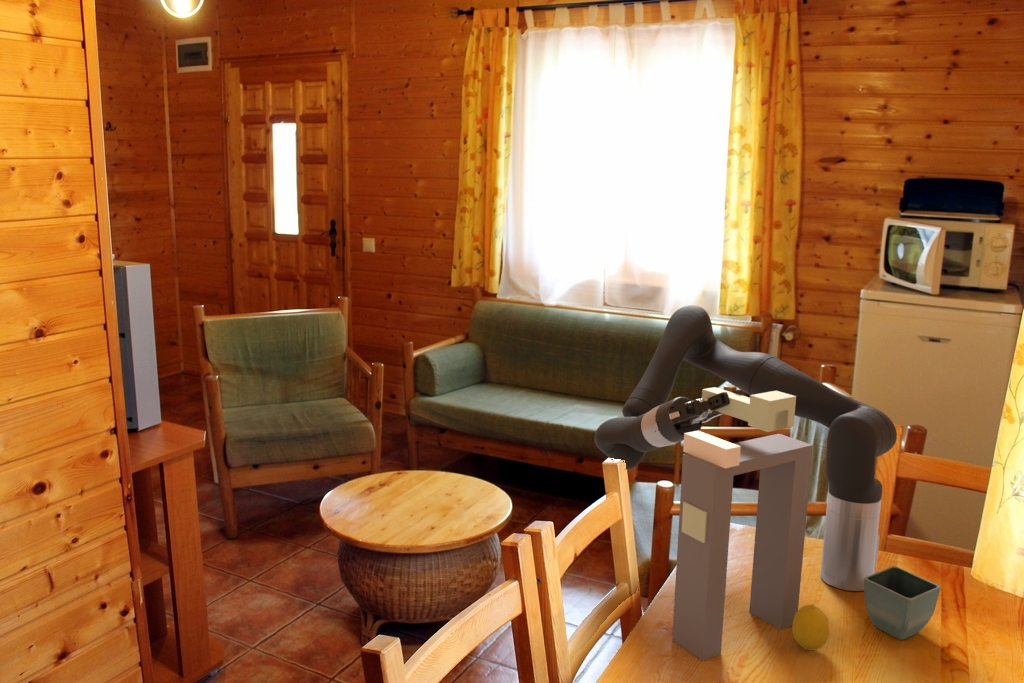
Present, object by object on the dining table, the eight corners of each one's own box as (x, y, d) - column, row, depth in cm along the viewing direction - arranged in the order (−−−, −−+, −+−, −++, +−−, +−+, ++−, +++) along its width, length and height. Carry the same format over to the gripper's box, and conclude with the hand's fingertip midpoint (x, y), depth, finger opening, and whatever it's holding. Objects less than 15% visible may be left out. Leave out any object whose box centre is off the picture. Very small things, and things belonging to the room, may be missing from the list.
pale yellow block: (720, 402, 147) (722, 374, 146) (793, 426, 134) (796, 396, 133) (694, 407, 144) (696, 378, 143) (767, 432, 131) (769, 401, 130)
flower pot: (904, 650, 136) (910, 599, 134) (857, 625, 143) (862, 577, 142) (936, 635, 141) (942, 586, 139) (888, 612, 148) (894, 565, 146)
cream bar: (697, 448, 135) (698, 430, 134) (739, 465, 127) (740, 446, 127) (683, 451, 133) (684, 433, 133) (725, 468, 126) (726, 449, 125)
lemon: (829, 662, 132) (833, 615, 131) (792, 657, 134) (796, 611, 132) (823, 643, 138) (828, 598, 136) (788, 639, 139) (792, 594, 137)
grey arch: (765, 605, 149) (779, 433, 143) (796, 623, 144) (812, 444, 137) (670, 640, 138) (681, 454, 132) (701, 661, 132) (713, 468, 126)
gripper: (705, 436, 157) (771, 412, 143) (647, 448, 150) (711, 423, 136) (692, 398, 159) (757, 370, 145) (635, 408, 152) (697, 379, 137)
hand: (734, 396), depth 140 cm, fingers closed on pale yellow block, 3 cm apart
